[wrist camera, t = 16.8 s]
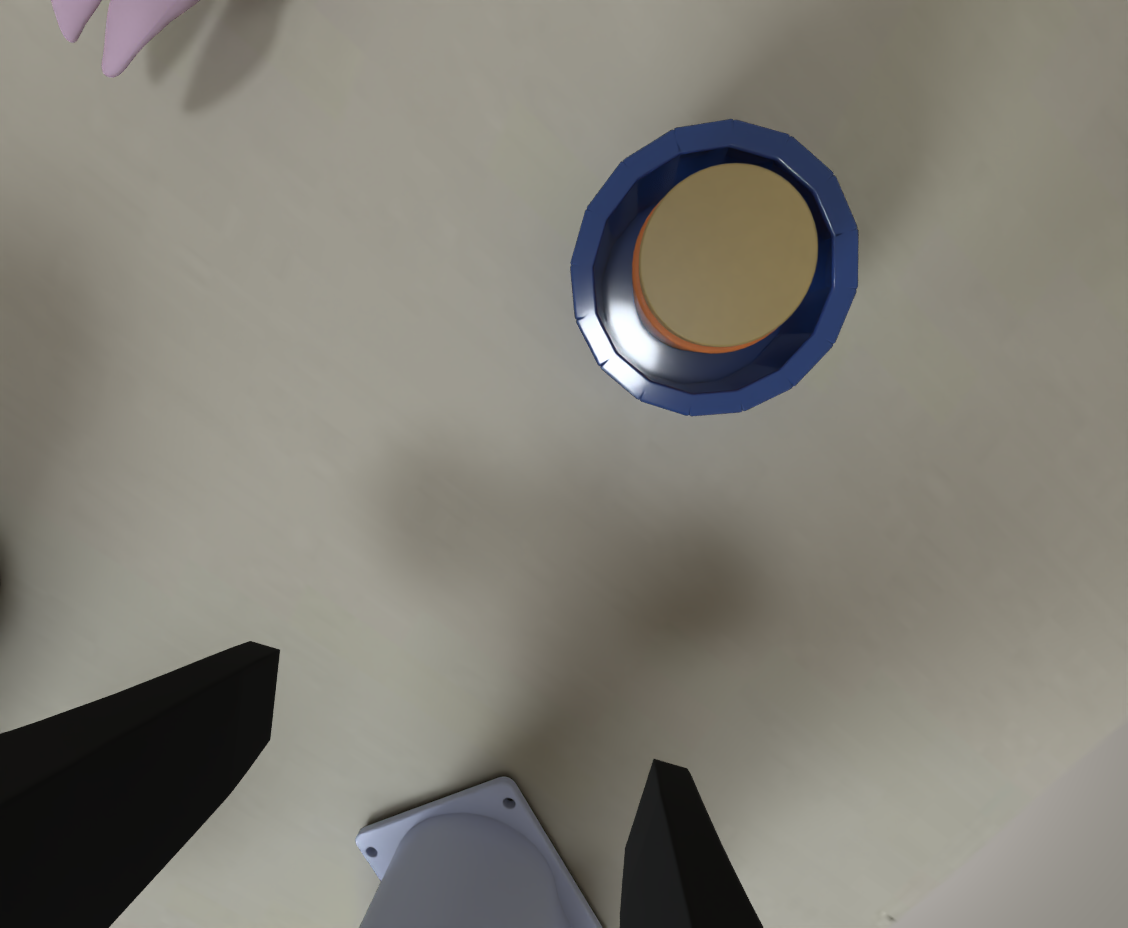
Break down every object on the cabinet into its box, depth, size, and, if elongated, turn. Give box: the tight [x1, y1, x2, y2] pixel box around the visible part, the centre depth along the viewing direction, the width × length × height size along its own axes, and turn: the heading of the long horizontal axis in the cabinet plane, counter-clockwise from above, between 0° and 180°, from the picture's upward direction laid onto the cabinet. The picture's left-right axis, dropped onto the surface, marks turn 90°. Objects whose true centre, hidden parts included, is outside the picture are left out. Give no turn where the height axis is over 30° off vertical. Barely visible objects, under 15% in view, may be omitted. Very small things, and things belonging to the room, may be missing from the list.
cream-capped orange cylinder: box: [632, 163, 818, 354], centre depth 14 cm, size 4×4×6 cm
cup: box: [570, 119, 858, 416], centre depth 15 cm, size 7×7×4 cm
